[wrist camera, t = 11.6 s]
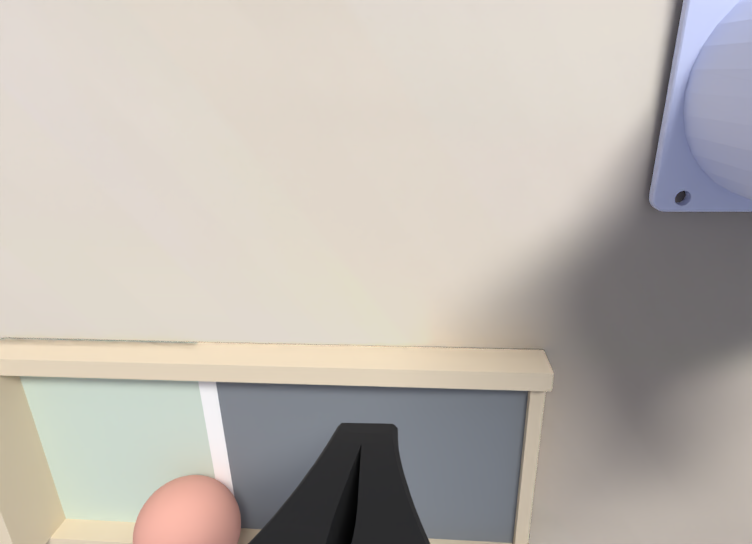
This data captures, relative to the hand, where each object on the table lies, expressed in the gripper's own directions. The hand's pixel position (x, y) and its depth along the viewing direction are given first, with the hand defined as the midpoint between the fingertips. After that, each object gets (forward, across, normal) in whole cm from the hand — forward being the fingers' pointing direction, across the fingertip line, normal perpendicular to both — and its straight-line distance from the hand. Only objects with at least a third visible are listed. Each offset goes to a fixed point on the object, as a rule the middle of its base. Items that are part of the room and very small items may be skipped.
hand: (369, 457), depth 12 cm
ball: (+6, +9, +10) cm, 15 cm away
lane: (+9, +6, +8) cm, 13 cm away
